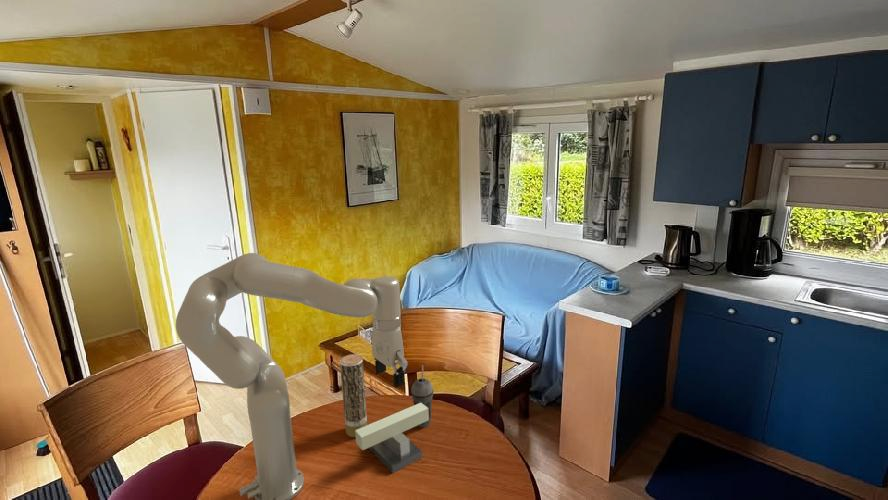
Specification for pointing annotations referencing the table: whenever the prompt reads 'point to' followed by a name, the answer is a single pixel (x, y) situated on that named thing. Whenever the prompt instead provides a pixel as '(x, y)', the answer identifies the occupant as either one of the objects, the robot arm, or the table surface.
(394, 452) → the ridge stand
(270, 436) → the robot arm
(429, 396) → the beverage cup
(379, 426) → the batten
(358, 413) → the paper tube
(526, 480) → the table surface
